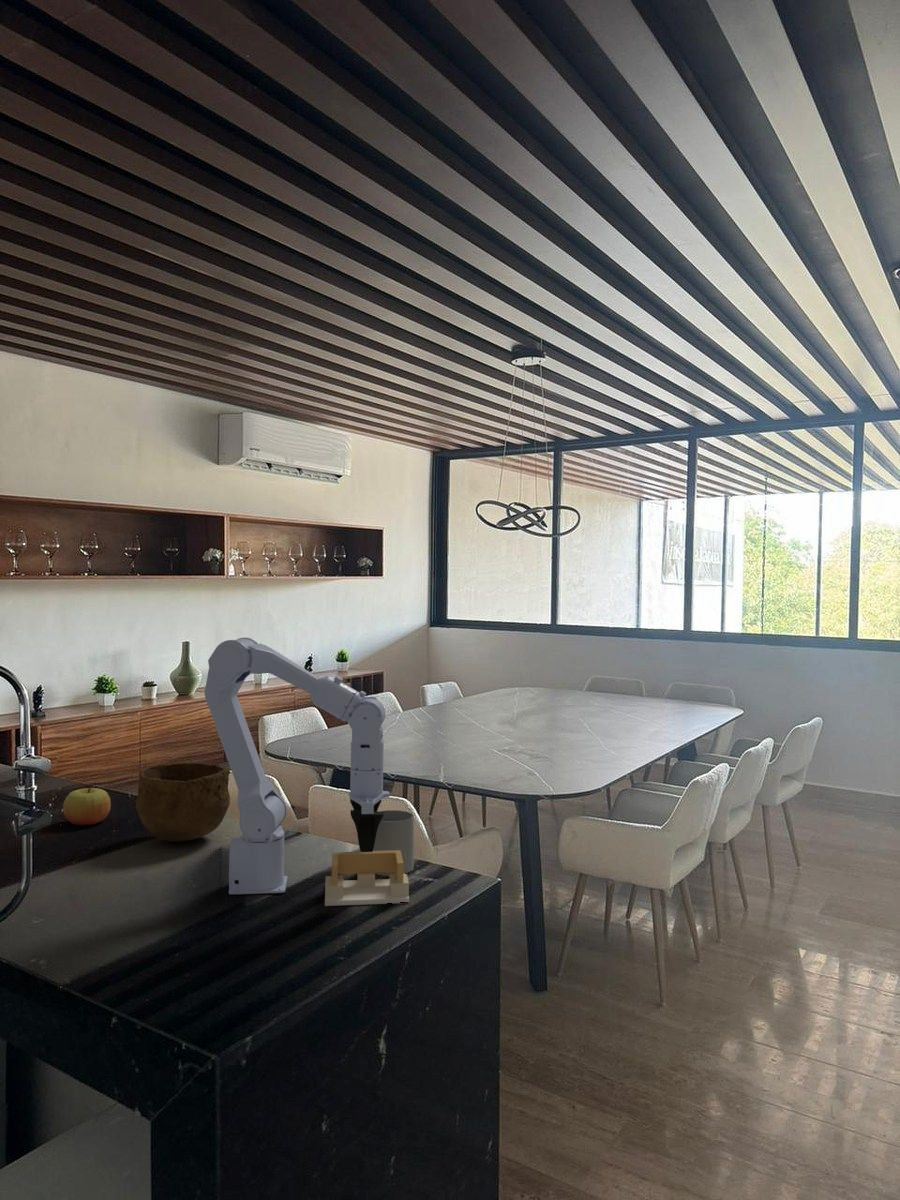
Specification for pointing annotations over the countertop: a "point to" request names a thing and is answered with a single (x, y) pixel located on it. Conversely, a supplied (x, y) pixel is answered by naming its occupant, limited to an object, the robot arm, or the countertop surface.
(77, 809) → the apple
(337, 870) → the tan u-shaped clamp
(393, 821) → the cup
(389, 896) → the display stand
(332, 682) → the robot arm
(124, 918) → the countertop surface
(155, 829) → the bowl
